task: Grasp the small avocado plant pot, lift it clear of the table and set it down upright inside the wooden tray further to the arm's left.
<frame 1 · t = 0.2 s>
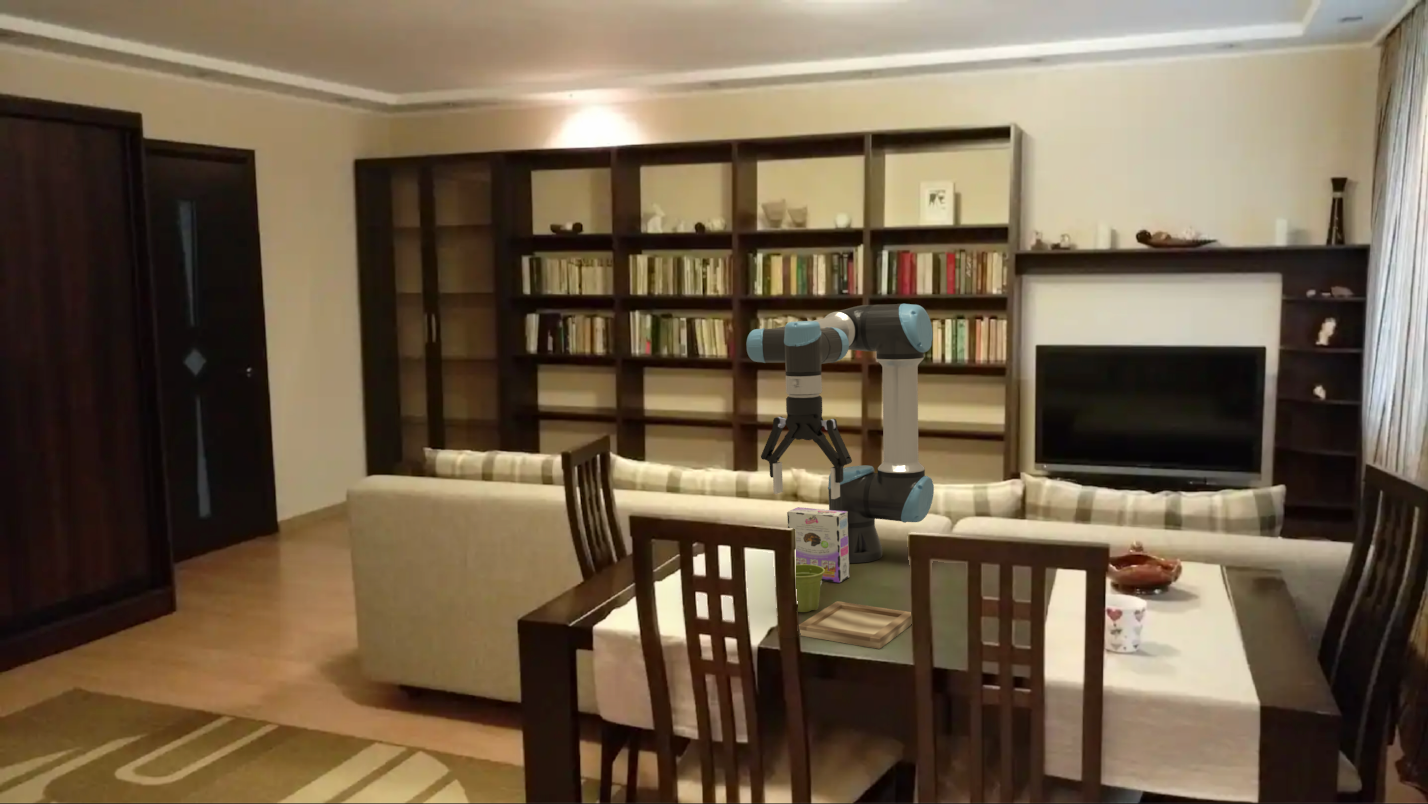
hand: (806, 495, 223), 27 cm above the table, fingers open, 13 cm apart
candy box: (819, 577, 256), on the table
wooden tray: (857, 628, 218), on the table
plant pot: (804, 609, 233), on the table
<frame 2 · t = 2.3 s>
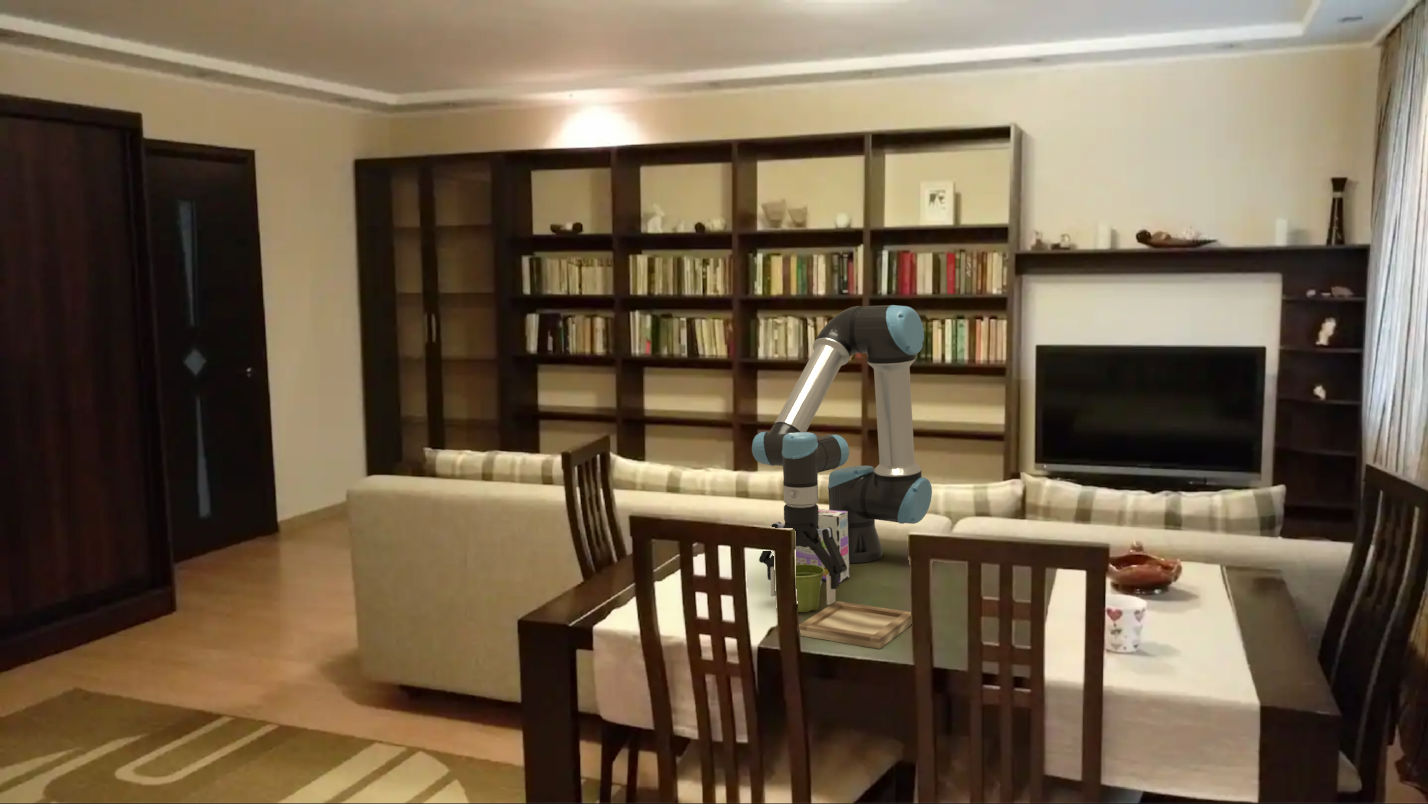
hand: (802, 599, 232), 2 cm above the table, fingers open, 13 cm apart
nothing on the table moved.
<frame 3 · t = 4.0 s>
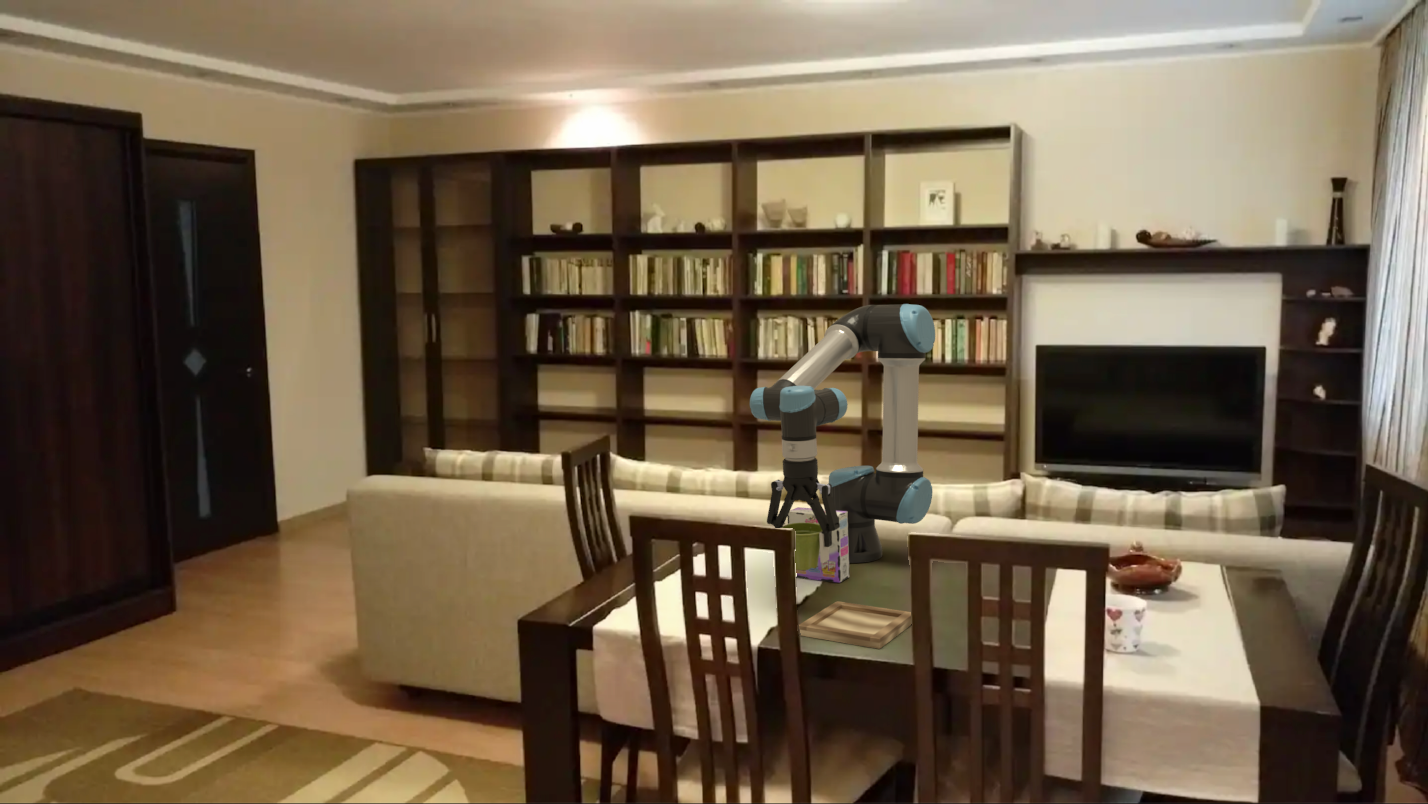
hand: (804, 558, 232), 11 cm above the table, fingers closed on plant pot, 9 cm apart
plant pot: (803, 567, 232), point 9 cm above the table, touching gripper
everything else where it was.
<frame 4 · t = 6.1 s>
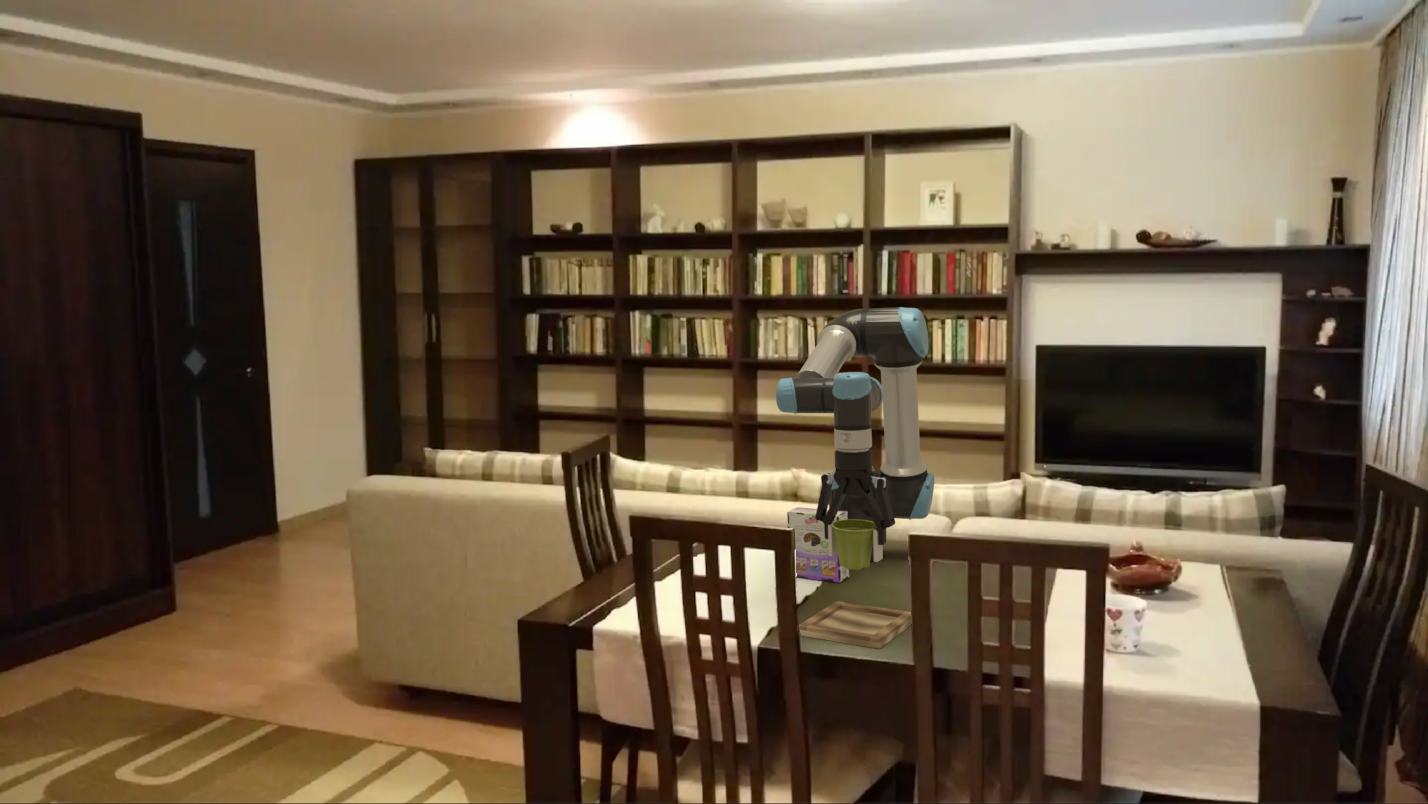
hand: (855, 557, 216), 15 cm above the table, fingers closed on plant pot, 9 cm apart
plant pot: (854, 566, 217), point 13 cm above the table, touching gripper
everything else where it was.
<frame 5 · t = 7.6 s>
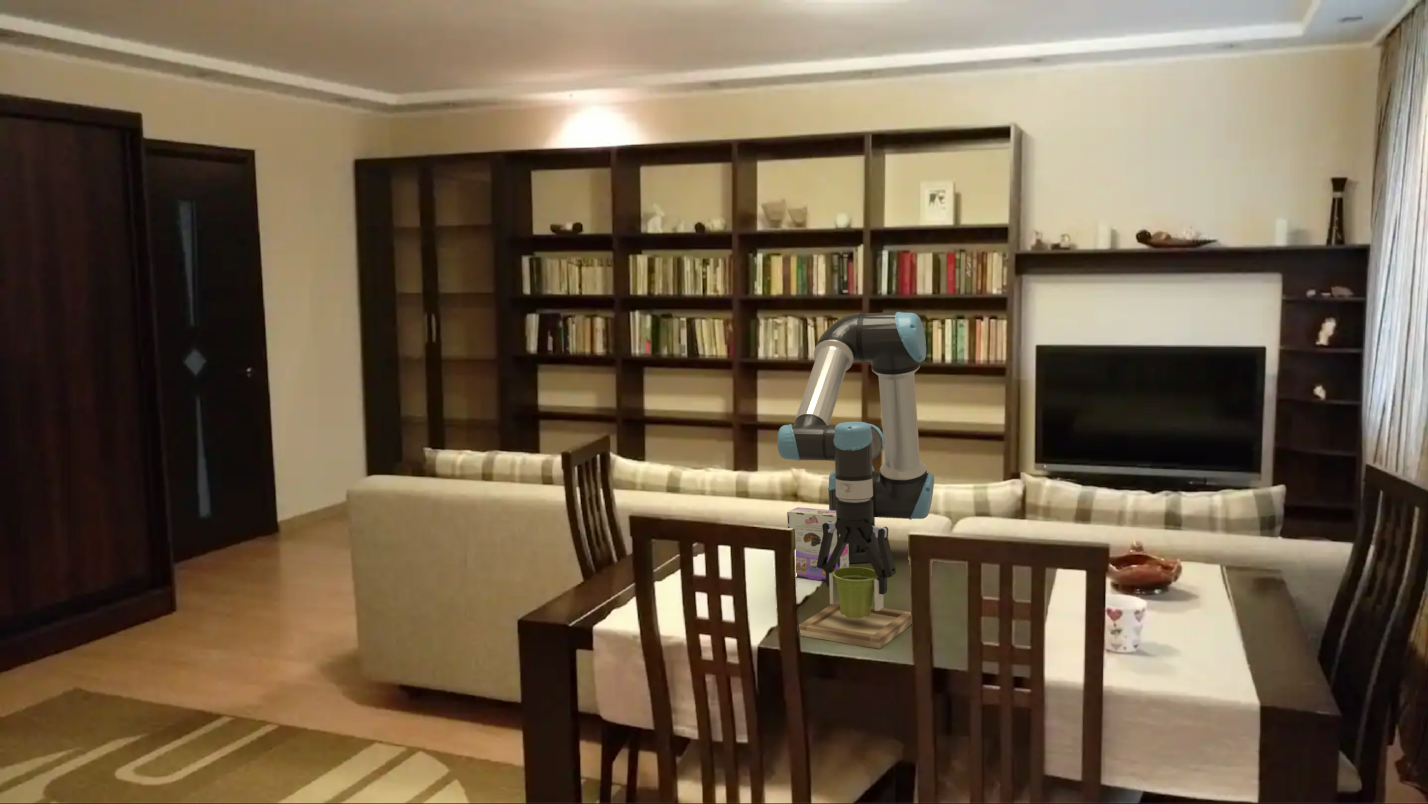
hand: (856, 605, 218), 5 cm above the table, fingers closed on plant pot, 9 cm apart
plant pot: (855, 614, 218), point 3 cm above the table, touching gripper
everything else where it was.
when the fingers open (3 cm above the table, at t = 8.7 s): plant pot stays where it is, resting on wooden tray.
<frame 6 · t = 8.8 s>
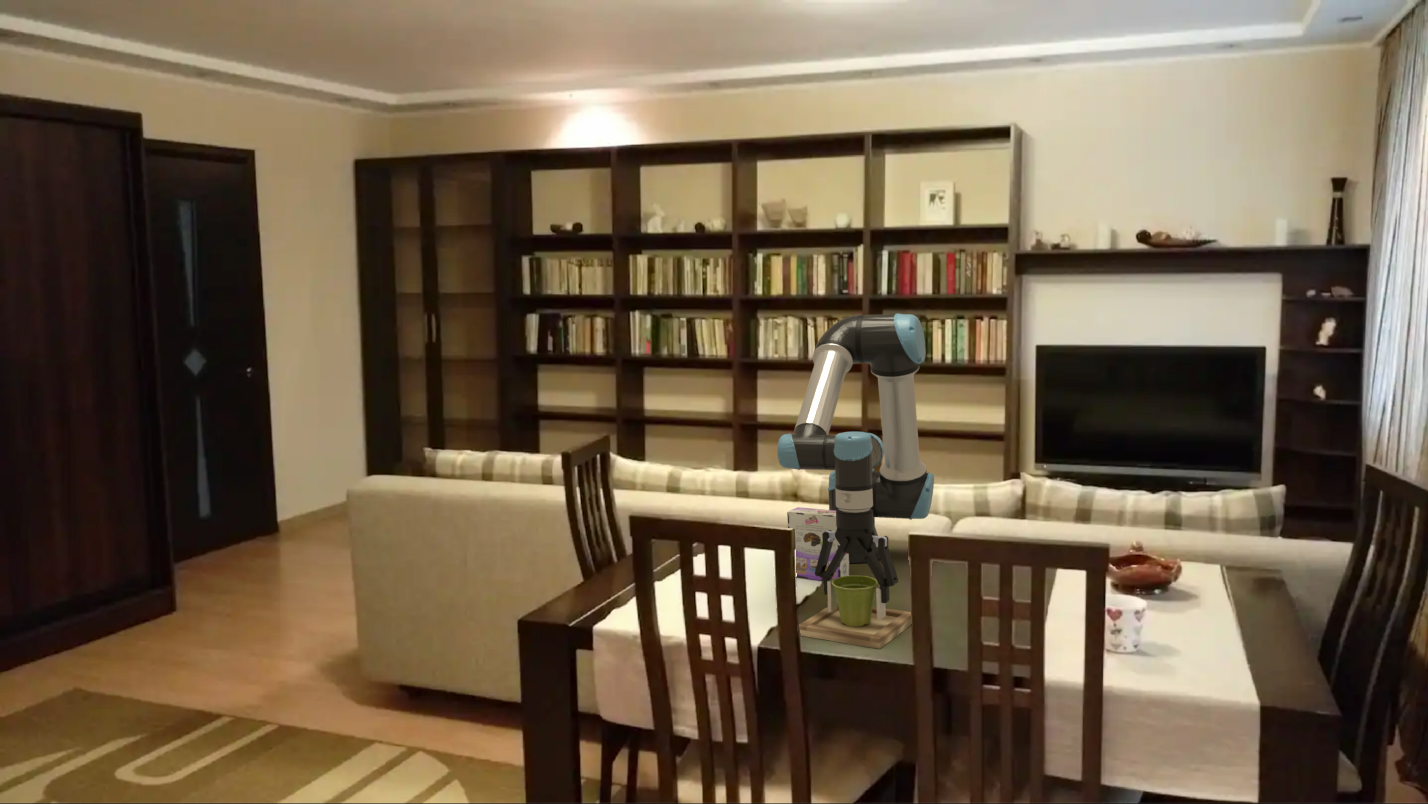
hand: (856, 613, 218), 3 cm above the table, fingers open, 10 cm apart
plant pot: (855, 623, 218), point 1 cm above the table, touching wooden tray
everything else where it was.
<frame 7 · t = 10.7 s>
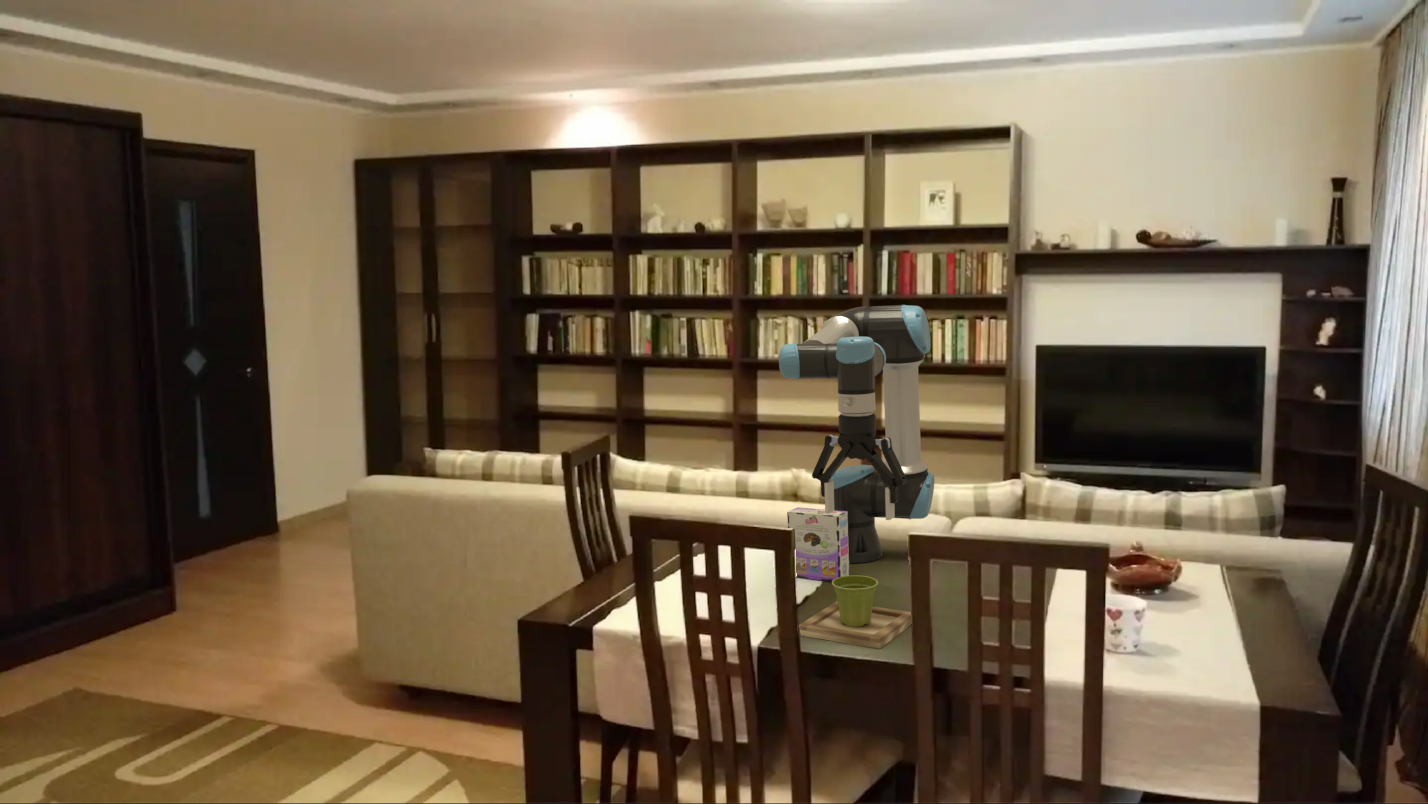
hand: (859, 515, 217), 23 cm above the table, fingers open, 13 cm apart
nothing on the table moved.
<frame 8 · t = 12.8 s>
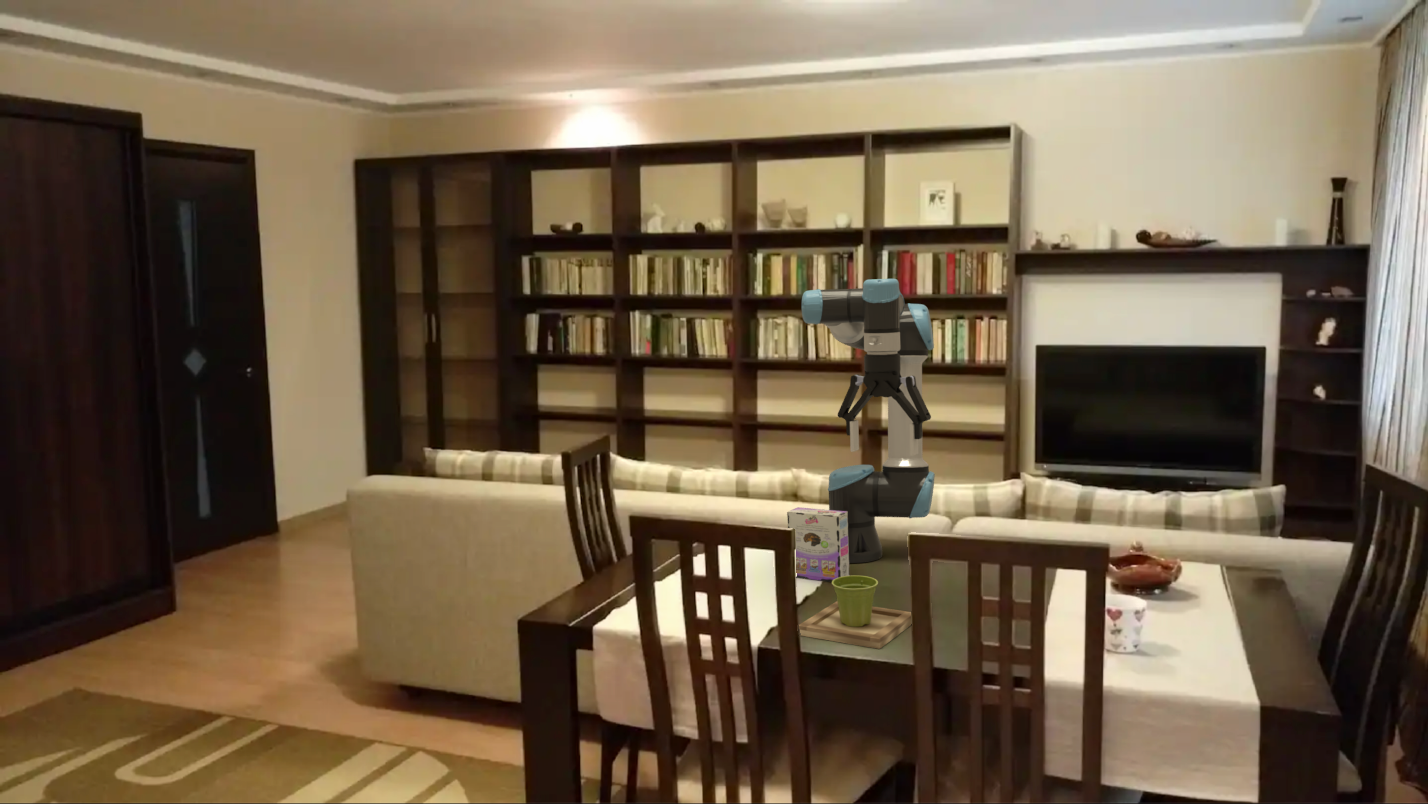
hand: (884, 452, 224), 35 cm above the table, fingers open, 13 cm apart
nothing on the table moved.
at the end: plant pot inside the target area on the wooden tray (0.3 cm from its centre), point 1.0 cm above the wooden tray's base; plant pot tilted 0°; the gripper is holding nothing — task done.
